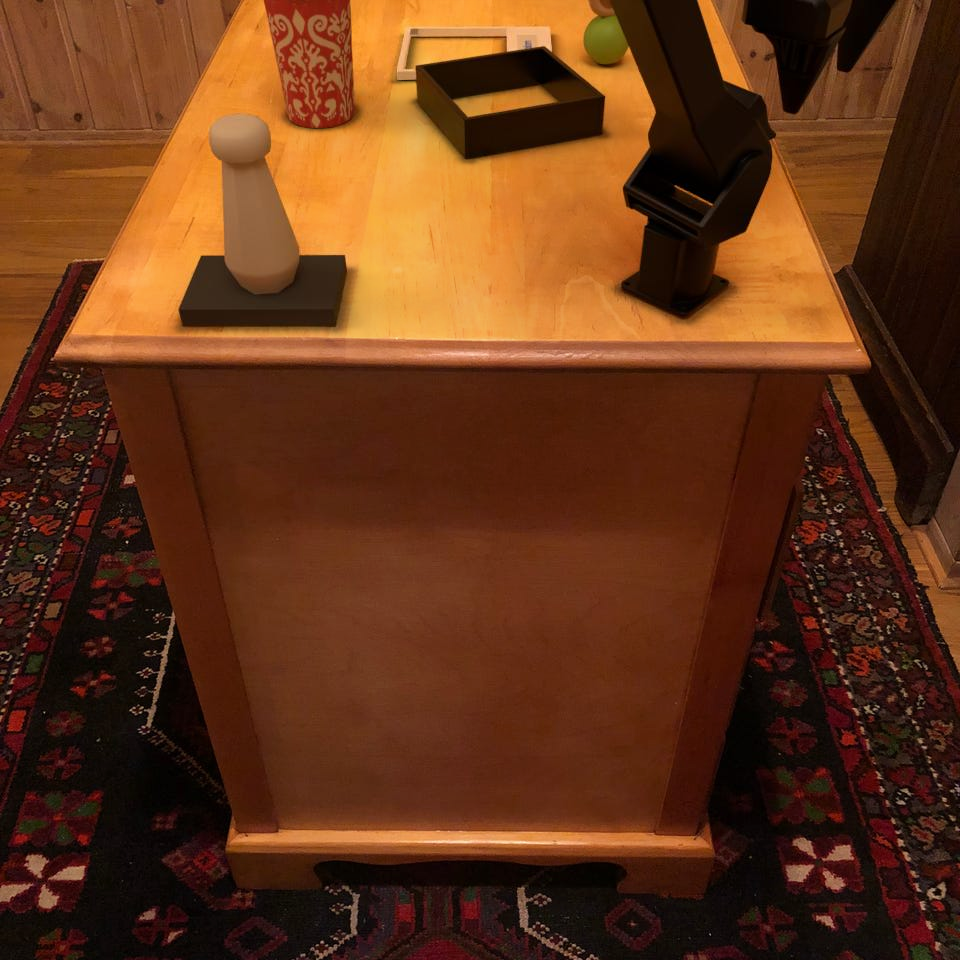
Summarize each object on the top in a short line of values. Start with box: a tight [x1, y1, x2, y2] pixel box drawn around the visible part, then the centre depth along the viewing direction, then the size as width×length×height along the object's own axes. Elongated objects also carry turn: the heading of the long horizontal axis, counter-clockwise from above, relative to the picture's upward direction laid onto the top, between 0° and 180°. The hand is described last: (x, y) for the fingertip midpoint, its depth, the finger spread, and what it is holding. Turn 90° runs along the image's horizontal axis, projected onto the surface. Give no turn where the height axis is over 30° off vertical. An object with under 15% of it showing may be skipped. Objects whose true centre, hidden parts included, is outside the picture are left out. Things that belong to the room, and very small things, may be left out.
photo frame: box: [396, 26, 553, 81], centre depth 114 cm, size 15×1×18 cm
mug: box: [263, 0, 356, 129], centre depth 99 cm, size 13×9×14 cm
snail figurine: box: [582, 0, 629, 65], centre depth 108 cm, size 5×6×12 cm
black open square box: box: [415, 46, 606, 160], centre depth 100 cm, size 15×15×4 cm
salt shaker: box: [208, 113, 300, 295], centre depth 71 cm, size 6×6×13 cm
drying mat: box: [178, 254, 348, 327], centre depth 76 cm, size 8×12×2 cm, turn 90°
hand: (817, 91), depth 74 cm, fingers open, 9 cm apart
